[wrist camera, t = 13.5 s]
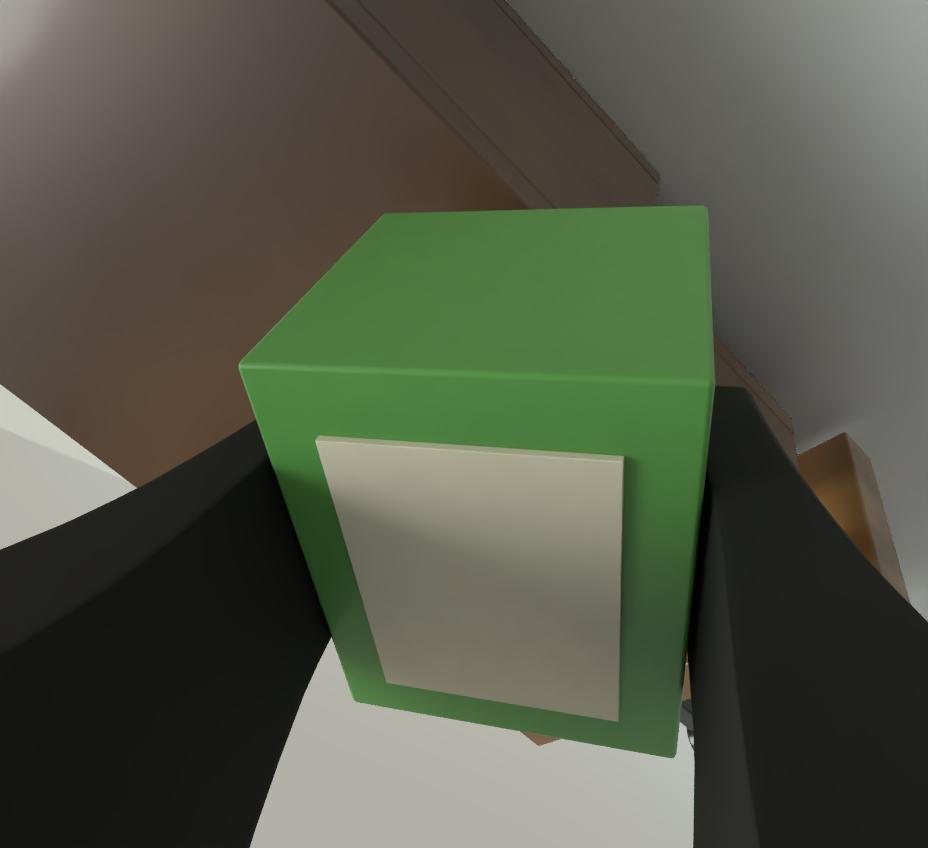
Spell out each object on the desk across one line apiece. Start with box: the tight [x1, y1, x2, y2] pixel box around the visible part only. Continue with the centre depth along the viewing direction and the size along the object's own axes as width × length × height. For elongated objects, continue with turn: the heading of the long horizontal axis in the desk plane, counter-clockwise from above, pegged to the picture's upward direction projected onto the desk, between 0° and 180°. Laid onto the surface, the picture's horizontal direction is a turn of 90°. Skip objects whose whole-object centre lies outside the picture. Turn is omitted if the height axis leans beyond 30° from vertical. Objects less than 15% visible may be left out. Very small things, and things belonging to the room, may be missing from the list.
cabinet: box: [0, 0, 660, 488], centre depth 16 cm, size 15×13×8 cm
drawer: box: [520, 334, 910, 750], centre depth 19 cm, size 18×11×6 cm, turn 47°
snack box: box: [239, 205, 715, 758], centre depth 9 cm, size 4×6×4 cm
